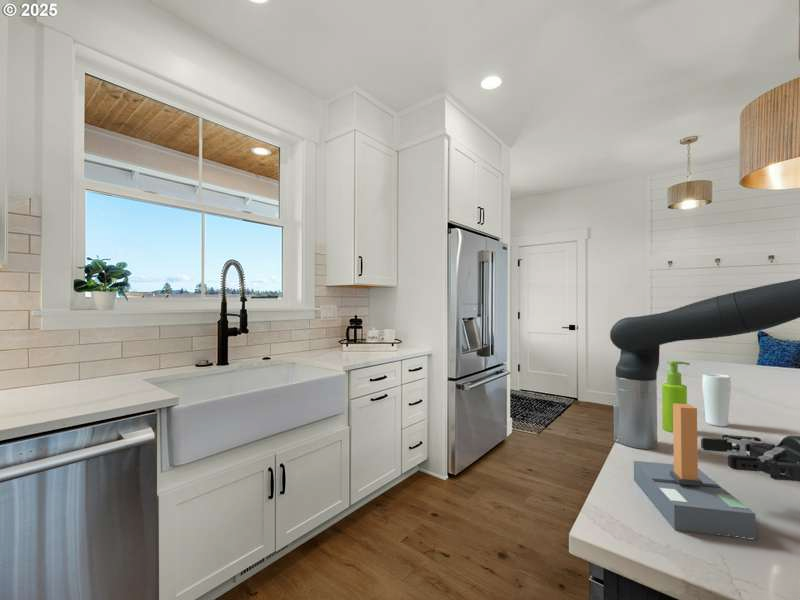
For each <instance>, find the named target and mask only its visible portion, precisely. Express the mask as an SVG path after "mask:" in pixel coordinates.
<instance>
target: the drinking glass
mask: <svg viewBox="0 0 800 600" xmlns="http://www.w3.org/2000/svg"><path fill="white" fill-rule="evenodd" d="M701 386H702V397H703V405H704V415H705V417H704V418H705V419H704V420H705V423H706V424H707V425H710V426H713V427H714V426H715V427H721V428H722V427H723V428H726V427H727V426H729V412H730V403H731V391H732V381H731V376H730V375H728V374H727V375H726V374H720V373H702V377H701Z"/></svg>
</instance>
